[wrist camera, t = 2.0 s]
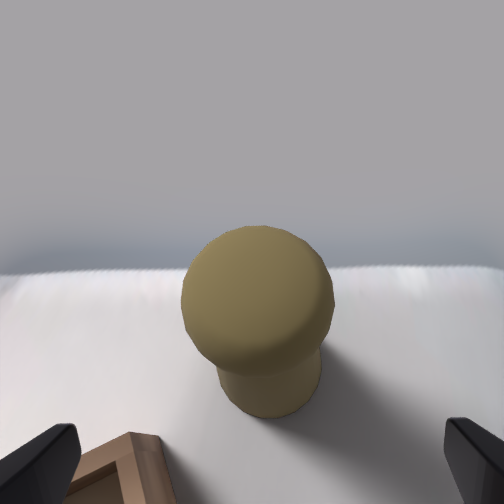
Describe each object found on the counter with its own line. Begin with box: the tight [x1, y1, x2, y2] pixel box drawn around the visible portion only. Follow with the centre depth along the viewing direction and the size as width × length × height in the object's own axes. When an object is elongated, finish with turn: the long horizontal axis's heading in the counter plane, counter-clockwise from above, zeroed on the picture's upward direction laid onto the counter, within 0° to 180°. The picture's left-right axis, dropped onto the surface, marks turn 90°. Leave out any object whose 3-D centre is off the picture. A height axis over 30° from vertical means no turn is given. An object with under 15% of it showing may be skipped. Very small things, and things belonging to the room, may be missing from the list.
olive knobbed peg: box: [181, 226, 335, 418], centre depth 15 cm, size 6×6×11 cm
